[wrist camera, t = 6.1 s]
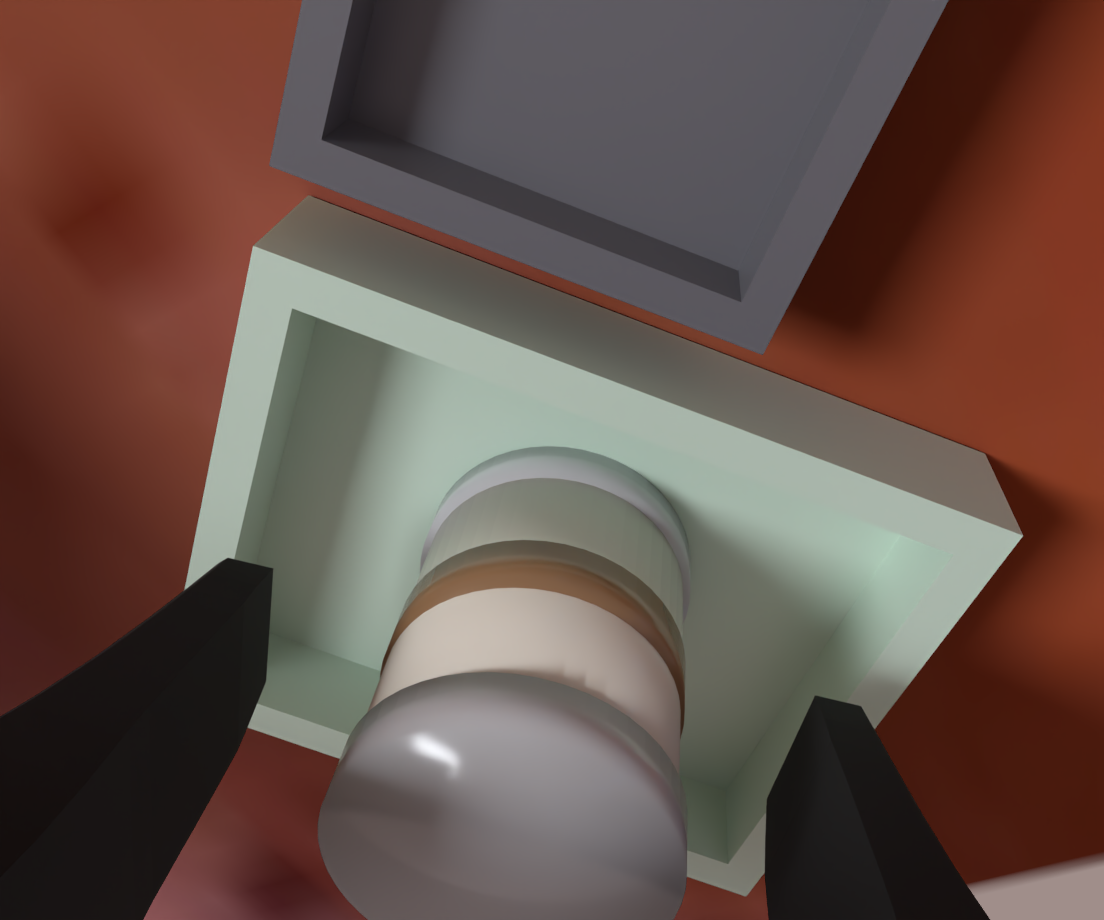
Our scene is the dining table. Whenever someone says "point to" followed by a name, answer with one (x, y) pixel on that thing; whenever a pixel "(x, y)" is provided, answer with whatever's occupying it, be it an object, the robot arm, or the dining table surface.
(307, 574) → the parts tray
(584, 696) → the fuse
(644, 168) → the grey square holder
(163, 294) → the dining table surface
